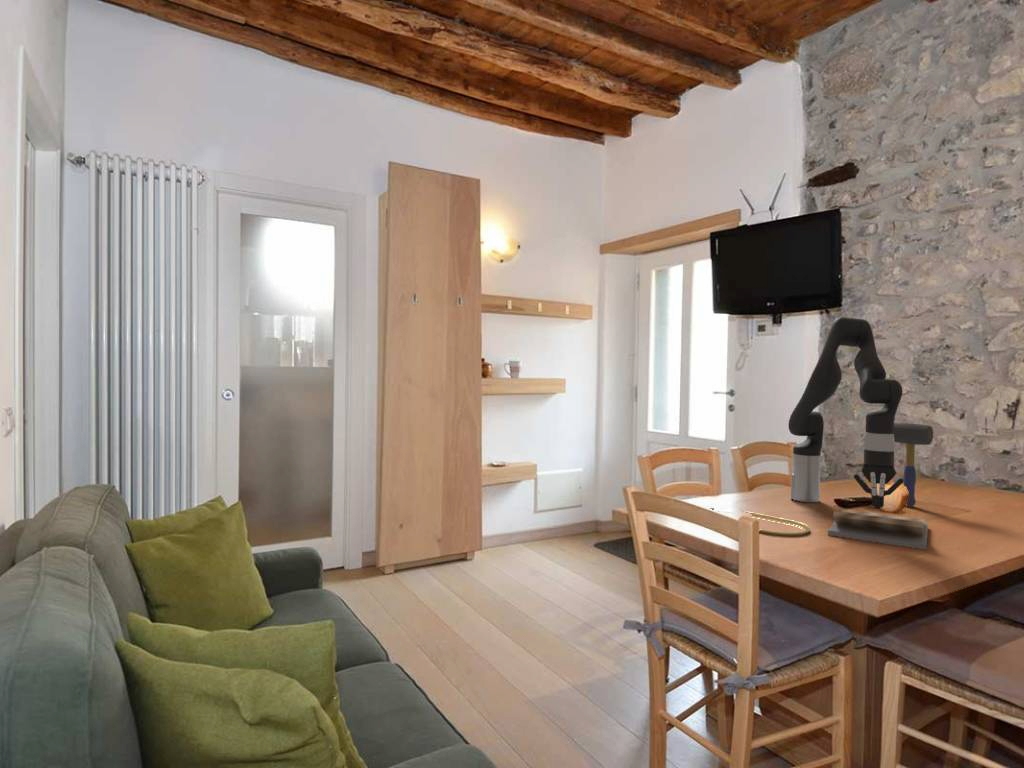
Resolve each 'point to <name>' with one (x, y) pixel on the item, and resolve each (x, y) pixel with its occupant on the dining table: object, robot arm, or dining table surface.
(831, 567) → the dining table surface
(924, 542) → the panel
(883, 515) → the far plank
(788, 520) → the serving platter
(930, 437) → the rubber mallet
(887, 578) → the dining table surface
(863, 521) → the near plank
